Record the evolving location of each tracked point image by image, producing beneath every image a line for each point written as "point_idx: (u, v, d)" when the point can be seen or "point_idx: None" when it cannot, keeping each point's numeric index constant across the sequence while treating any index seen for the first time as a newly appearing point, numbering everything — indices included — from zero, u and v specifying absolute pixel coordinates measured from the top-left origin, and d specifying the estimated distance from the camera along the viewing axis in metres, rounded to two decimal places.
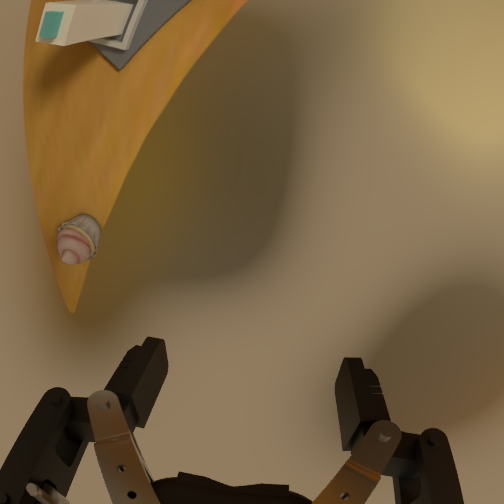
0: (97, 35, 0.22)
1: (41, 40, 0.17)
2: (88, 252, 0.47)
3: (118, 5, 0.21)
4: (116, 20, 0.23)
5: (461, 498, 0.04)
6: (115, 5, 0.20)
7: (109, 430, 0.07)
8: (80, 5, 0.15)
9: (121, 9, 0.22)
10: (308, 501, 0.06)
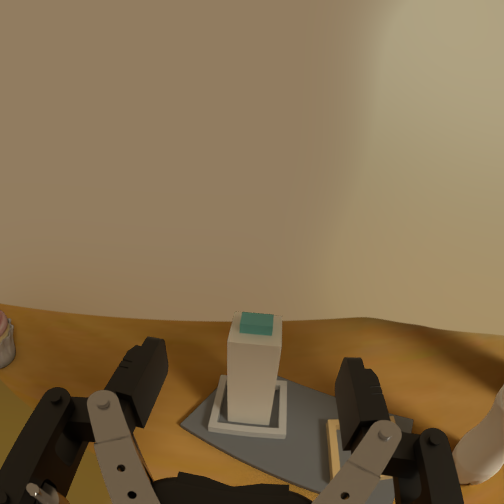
0: (231, 388, 0.26)
1: (235, 317, 0.27)
2: None
3: (270, 406, 0.26)
4: (248, 409, 0.27)
5: (461, 498, 0.04)
6: (270, 402, 0.26)
7: (109, 430, 0.07)
8: (279, 353, 0.24)
9: (263, 411, 0.27)
10: (309, 500, 0.06)
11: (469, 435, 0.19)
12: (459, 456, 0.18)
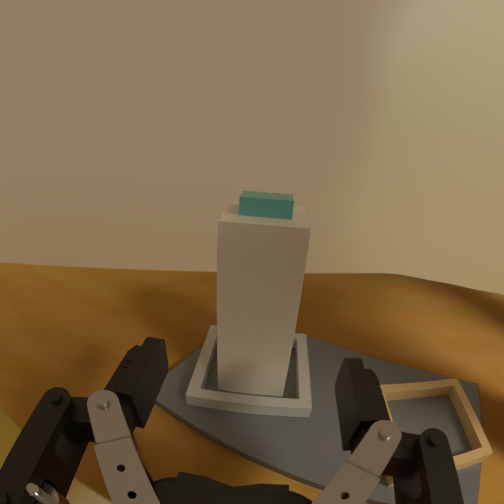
0: (224, 322, 0.17)
1: (233, 205, 0.18)
2: None
3: (286, 359, 0.17)
4: (251, 366, 0.18)
5: (462, 498, 0.04)
6: (288, 350, 0.17)
7: (109, 430, 0.07)
8: (306, 243, 0.14)
9: (275, 370, 0.18)
10: (308, 501, 0.06)
11: None
12: None
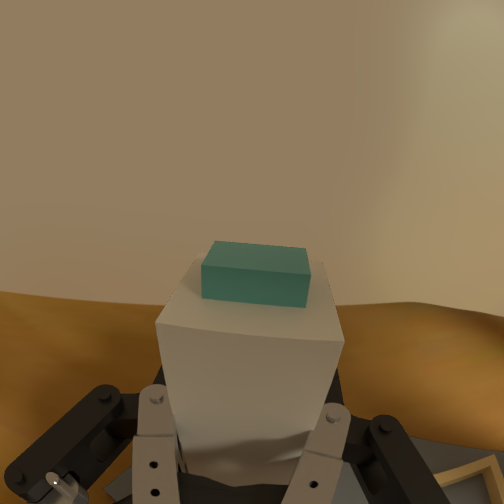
0: (191, 447, 0.09)
1: (198, 262, 0.10)
2: None
3: (287, 480, 0.10)
4: (237, 483, 0.10)
5: (433, 477, 0.05)
6: (289, 474, 0.09)
7: (154, 425, 0.08)
8: (333, 363, 0.07)
9: None
10: None
11: None
12: None
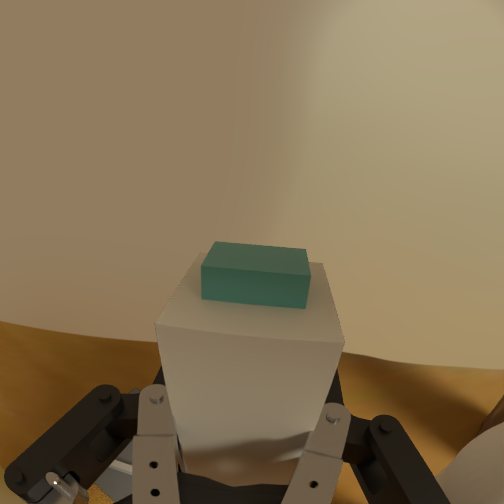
0: (191, 448, 0.09)
1: (198, 263, 0.10)
2: None
3: (287, 480, 0.10)
4: (237, 484, 0.10)
5: (433, 476, 0.05)
6: (289, 475, 0.09)
7: (154, 425, 0.08)
8: (333, 364, 0.07)
9: None
10: None
11: None
12: None
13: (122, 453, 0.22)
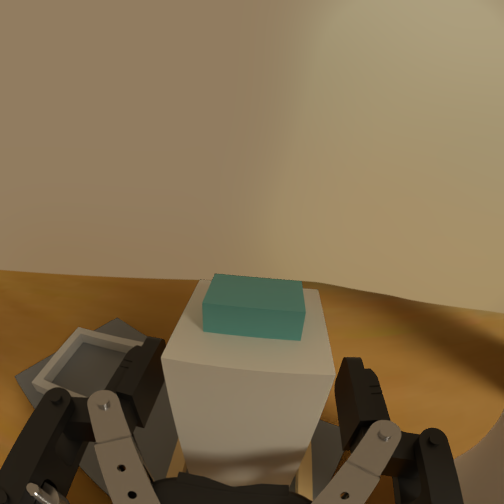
0: (194, 460, 0.09)
1: (199, 291, 0.10)
2: None
3: None
4: None
5: (461, 498, 0.04)
6: (286, 484, 0.10)
7: (109, 430, 0.07)
8: (325, 392, 0.07)
9: None
10: (308, 501, 0.06)
11: None
12: None
13: (87, 388, 0.18)
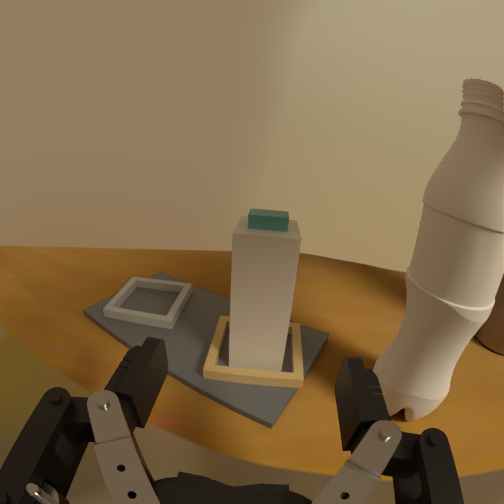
0: (235, 310, 0.22)
1: (242, 219, 0.23)
2: None
3: (284, 339, 0.22)
4: (256, 346, 0.23)
5: (461, 498, 0.04)
6: (285, 332, 0.22)
7: (109, 430, 0.07)
8: (298, 249, 0.20)
9: (275, 349, 0.23)
10: (308, 501, 0.06)
11: (391, 343, 0.21)
12: (377, 369, 0.20)
13: (146, 311, 0.30)
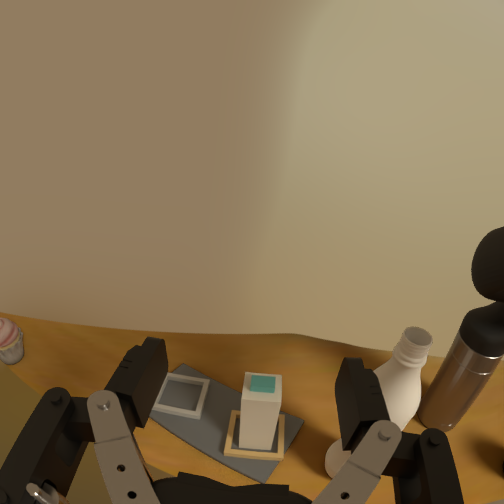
0: (243, 426, 0.32)
1: (246, 377, 0.33)
2: None
3: (272, 438, 0.33)
4: (255, 440, 0.33)
5: (461, 498, 0.04)
6: (272, 435, 0.33)
7: (109, 430, 0.07)
8: (279, 405, 0.30)
9: (266, 441, 0.33)
10: (308, 501, 0.06)
11: (338, 440, 0.32)
12: (327, 455, 0.31)
13: (179, 404, 0.41)
